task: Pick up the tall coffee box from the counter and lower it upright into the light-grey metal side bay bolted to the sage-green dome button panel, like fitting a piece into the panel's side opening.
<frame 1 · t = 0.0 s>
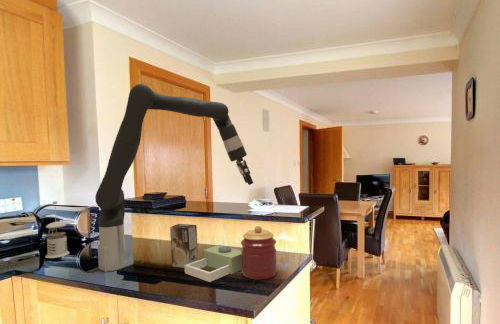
hand: (249, 183, 136), 31 cm above the countertop, tool tilted 20°, fingers open, 8 cm apart
coffee box: (185, 265, 128), on the countertop
french press: (56, 254, 148), on the countertop
canister: (259, 274, 116), on the countertop
dome button panel: (222, 267, 124), on the countertop
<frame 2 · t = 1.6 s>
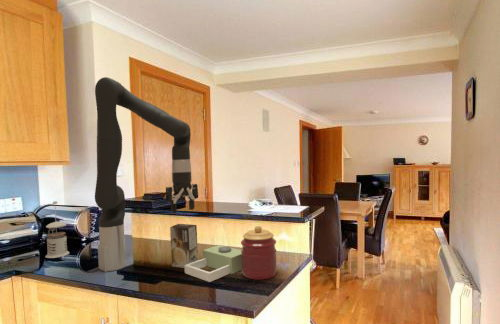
hand: (183, 211, 127), 22 cm above the countertop, tool pointing down, fingers open, 8 cm apart
nothing on the countertop moved.
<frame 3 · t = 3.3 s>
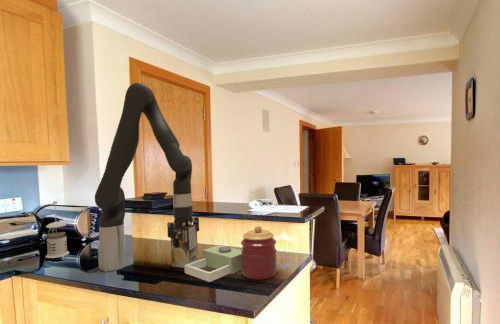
hand: (184, 245, 128), 8 cm above the countertop, tool pointing down, fingers closed on coffee box, 7 cm apart
coffee box: (185, 265, 128), on the countertop, touching gripper
everything else where it was.
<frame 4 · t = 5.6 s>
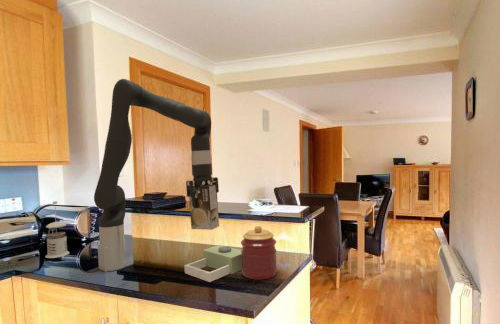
hand: (204, 206, 119), 25 cm above the countertop, tool pointing down, fingers closed on coffee box, 7 cm apart
coffee box: (205, 228, 120), point 16 cm above the countertop, touching gripper
everything else where it was.
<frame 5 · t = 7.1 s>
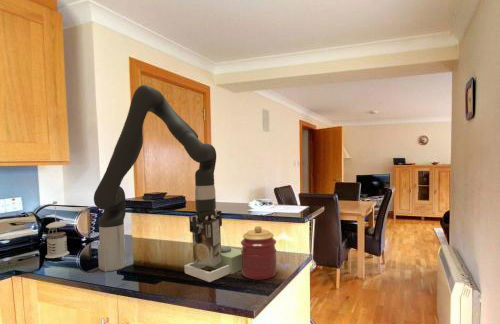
hand: (206, 240, 118), 12 cm above the countertop, tool pointing down, fingers closed on coffee box, 7 cm apart
coffee box: (207, 262, 119), point 4 cm above the countertop, touching gripper
everything else where it was.
when the fingers open (9 cm above the countertop, at t = 8.2 s): coffee box stays where it is, resting in dome button panel.
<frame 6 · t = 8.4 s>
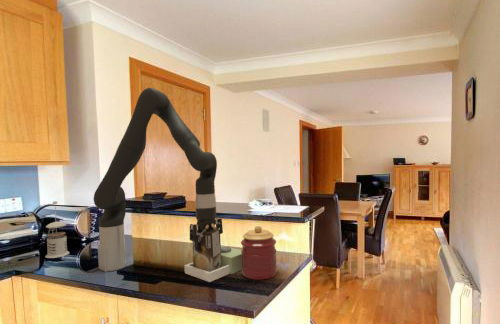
hand: (207, 248, 118), 9 cm above the countertop, tool pointing down, fingers open, 8 cm apart
coffee box: (207, 273, 119), resting in dome button panel
everything else where it was.
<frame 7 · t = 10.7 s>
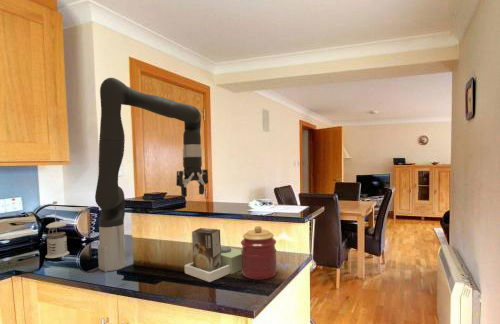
hand: (193, 195, 130), 28 cm above the countertop, tool pointing down, fingers open, 8 cm apart
nothing on the countertop moved.
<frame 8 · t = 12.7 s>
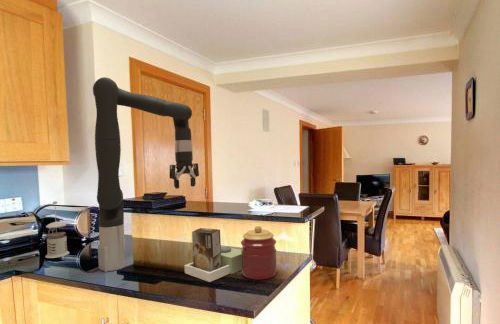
hand: (185, 187, 140), 30 cm above the countertop, tool pointing down, fingers open, 8 cm apart
nothing on the countertop moved.
at the end: coffee box inside the target area on the dome button panel (0.1 cm from its centre), point 0.0 cm above the dome button panel's base; coffee box tilted 0°; the gripper is holding nothing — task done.
